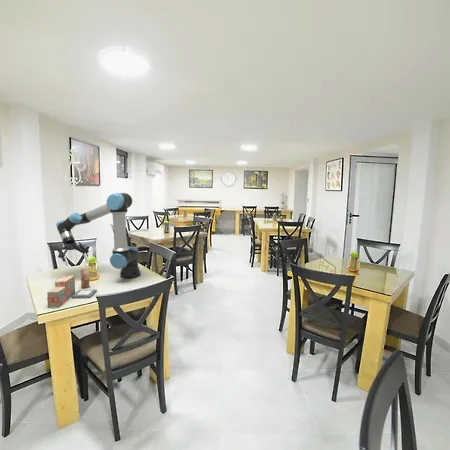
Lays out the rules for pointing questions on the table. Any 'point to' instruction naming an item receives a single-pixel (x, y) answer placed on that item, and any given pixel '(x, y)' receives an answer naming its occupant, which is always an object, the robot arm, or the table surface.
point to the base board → (84, 294)
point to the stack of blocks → (61, 291)
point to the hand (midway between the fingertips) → (77, 262)
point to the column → (85, 279)
